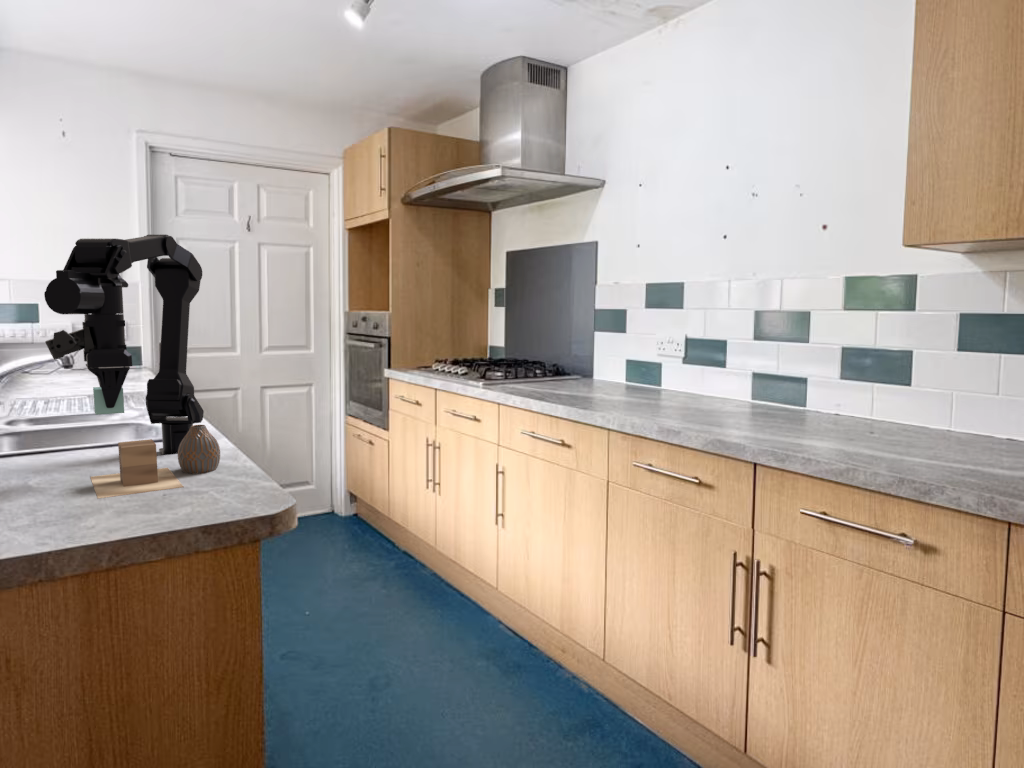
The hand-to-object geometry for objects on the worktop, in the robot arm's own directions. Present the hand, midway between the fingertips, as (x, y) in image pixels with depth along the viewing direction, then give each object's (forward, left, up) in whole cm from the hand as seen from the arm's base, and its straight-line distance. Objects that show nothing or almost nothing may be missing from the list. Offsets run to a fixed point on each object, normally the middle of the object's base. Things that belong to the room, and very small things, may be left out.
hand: (109, 406), depth 120 cm
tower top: (+7, +3, -9) cm, 12 cm away
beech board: (+7, +3, -13) cm, 15 cm away
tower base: (+7, +3, -12) cm, 14 cm away
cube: (0, 0, -1) cm, 1 cm away
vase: (+4, +13, -13) cm, 19 cm away
